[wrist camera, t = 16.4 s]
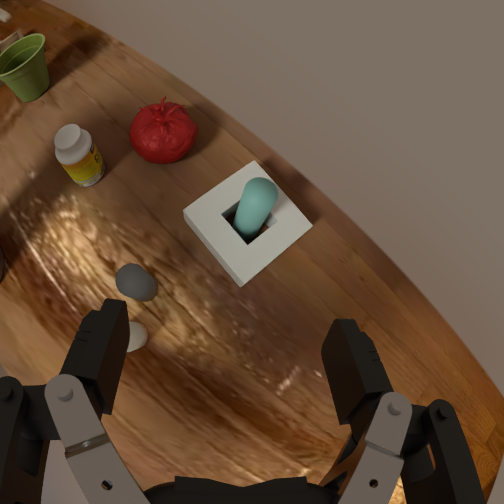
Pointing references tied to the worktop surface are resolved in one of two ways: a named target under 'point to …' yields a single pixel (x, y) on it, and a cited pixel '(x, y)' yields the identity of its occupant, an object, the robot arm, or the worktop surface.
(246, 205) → the teal pin
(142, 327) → the cream pin
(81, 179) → the supplement bottle
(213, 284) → the worktop surface
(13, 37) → the oak coaster frame
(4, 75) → the plant pot
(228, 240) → the socket block
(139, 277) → the charcoal pin
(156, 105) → the pomegranate
